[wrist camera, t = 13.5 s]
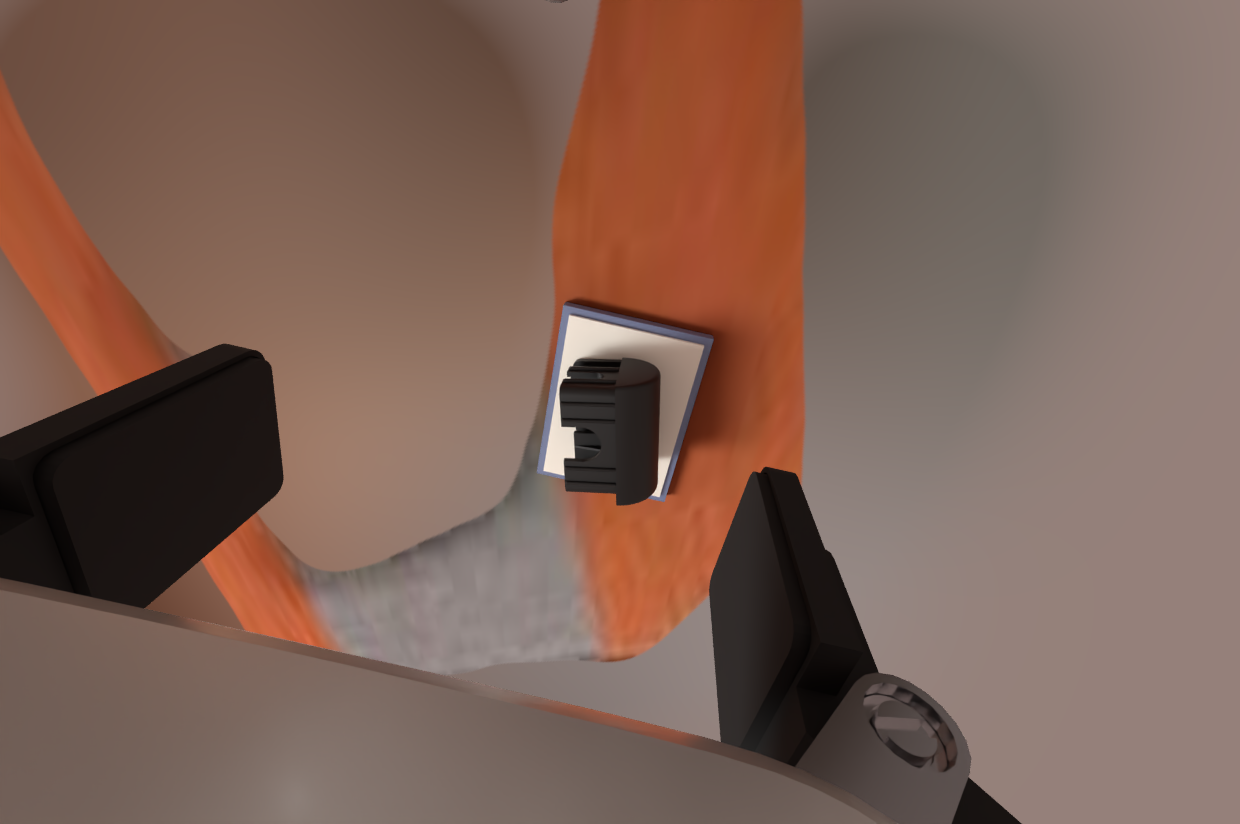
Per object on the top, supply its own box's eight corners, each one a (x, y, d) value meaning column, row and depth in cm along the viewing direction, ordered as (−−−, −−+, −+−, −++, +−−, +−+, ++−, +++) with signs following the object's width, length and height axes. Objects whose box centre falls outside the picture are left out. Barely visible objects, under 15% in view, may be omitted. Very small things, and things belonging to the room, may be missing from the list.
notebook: (565, 301, 42) (562, 306, 41) (712, 335, 42) (713, 340, 41) (539, 467, 49) (535, 474, 48) (664, 495, 49) (664, 503, 48)
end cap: (659, 462, 46) (656, 509, 40) (578, 458, 47) (564, 504, 41) (662, 354, 42) (659, 388, 35) (573, 352, 42) (556, 385, 36)
